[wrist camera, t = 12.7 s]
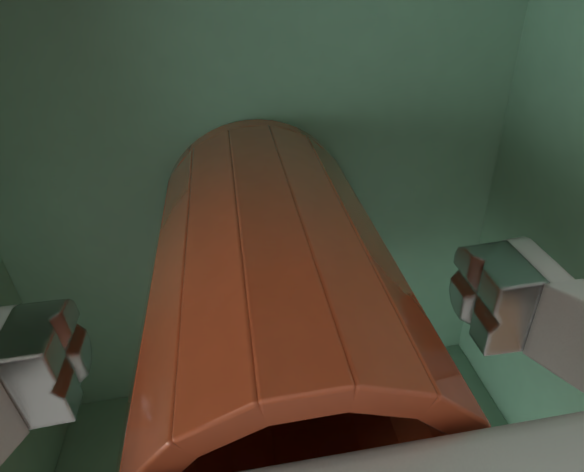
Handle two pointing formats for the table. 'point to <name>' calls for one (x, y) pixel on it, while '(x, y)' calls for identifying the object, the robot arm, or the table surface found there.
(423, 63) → the open box
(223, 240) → the cup
